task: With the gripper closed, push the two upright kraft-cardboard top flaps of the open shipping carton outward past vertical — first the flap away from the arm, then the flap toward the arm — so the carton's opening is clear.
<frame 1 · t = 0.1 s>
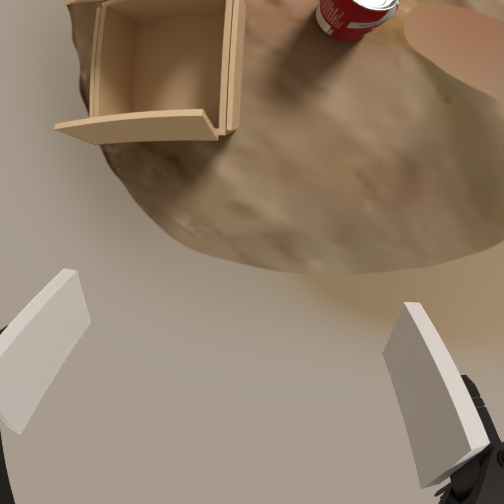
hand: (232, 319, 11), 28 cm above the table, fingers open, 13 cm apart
flap 2: (136, 129, 22), point 13 cm above the table, hinge at 70.0°
soda can: (341, 20, 26), on the table
carton: (182, 68, 30), on the table
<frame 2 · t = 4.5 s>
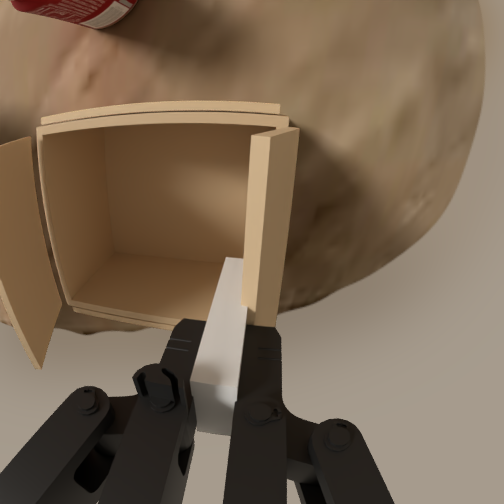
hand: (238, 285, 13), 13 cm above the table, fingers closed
flap 1: (21, 251, 14), point 13 cm above the table, hinge at 70.0°
flap 2: (267, 282, 13), point 13 cm above the table, hinge at 79.3°, touching gripper
soda can: (113, 0, 17), on the table
carton: (183, 191, 25), on the table
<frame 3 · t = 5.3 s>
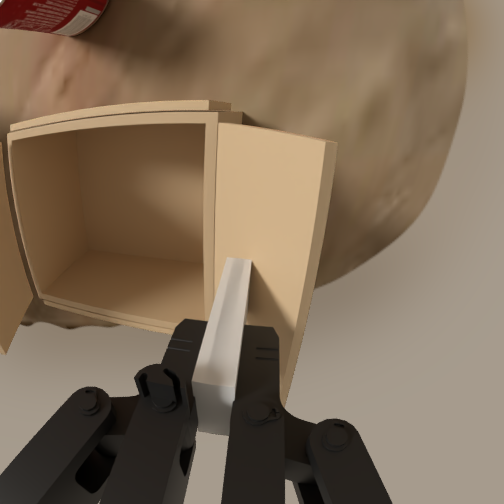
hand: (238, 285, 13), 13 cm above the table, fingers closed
flap 2: (252, 280, 13), point 12 cm above the table, hinge at 126.1°, touching gripper
soda can: (86, 7, 17), on the table
carton: (148, 190, 25), on the table
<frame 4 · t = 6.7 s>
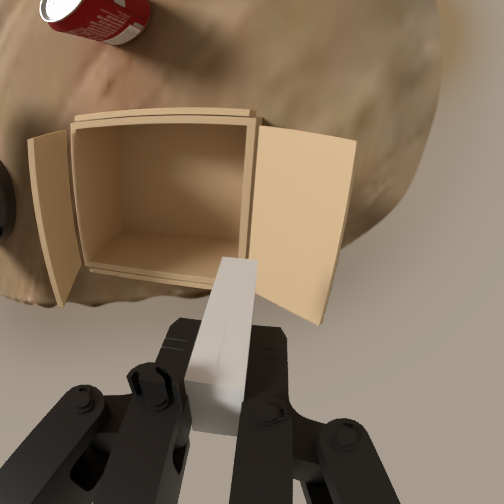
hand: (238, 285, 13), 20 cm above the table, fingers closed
flap 1: (56, 214, 20), point 13 cm above the table, hinge at 70.0°
flap 2: (294, 227, 20), point 12 cm above the table, hinge at 144.8°
soda can: (127, 20, 23), on the table
carton: (183, 178, 31), on the table
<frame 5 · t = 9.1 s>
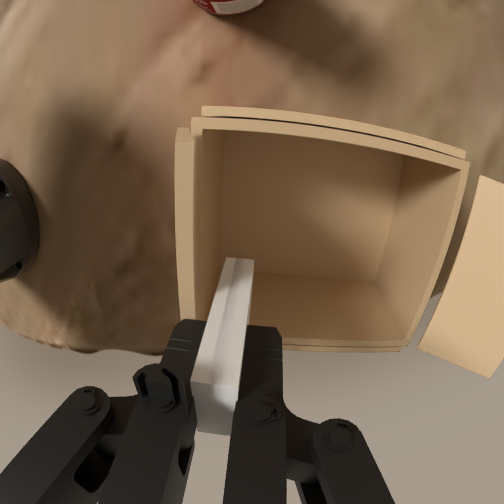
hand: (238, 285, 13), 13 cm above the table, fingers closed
flap 1: (184, 282, 13), point 13 cm above the table, hinge at 73.7°, touching gripper
flap 2: (494, 289, 14), point 12 cm above the table, hinge at 145.0°
carton: (310, 206, 25), on the table
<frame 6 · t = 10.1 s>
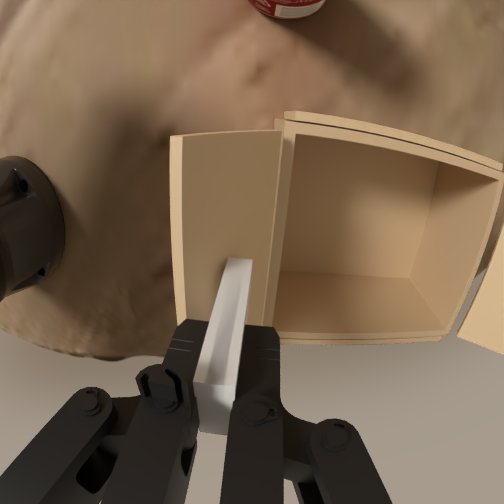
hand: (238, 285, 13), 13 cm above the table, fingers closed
flap 1: (231, 278, 14), point 13 cm above the table, hinge at 118.3°, touching gripper
carton: (356, 209, 25), on the table
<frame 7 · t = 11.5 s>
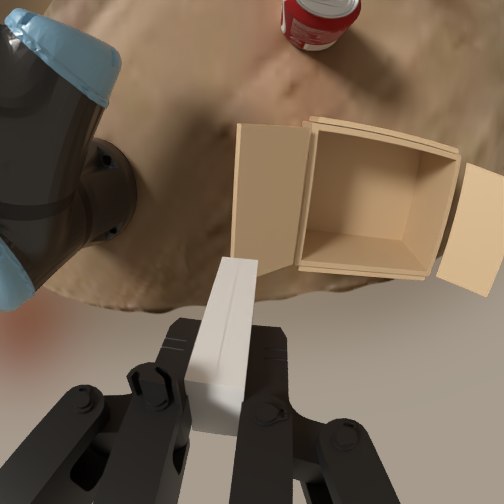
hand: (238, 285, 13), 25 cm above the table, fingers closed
flap 1: (269, 204, 24), point 12 cm above the table, hinge at 138.9°
flap 2: (481, 232, 24), point 12 cm above the table, hinge at 145.0°
soda can: (309, 27, 27), on the table
carton: (359, 185, 35), on the table
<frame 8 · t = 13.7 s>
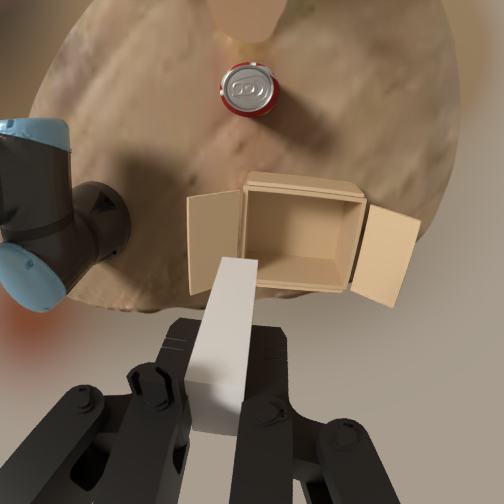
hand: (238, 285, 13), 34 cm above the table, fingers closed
flap 1: (213, 243, 37), point 12 cm above the table, hinge at 139.2°
flap 2: (384, 258, 37), point 12 cm above the table, hinge at 145.0°
soda can: (254, 94, 39), on the table
carton: (295, 218, 48), on the table
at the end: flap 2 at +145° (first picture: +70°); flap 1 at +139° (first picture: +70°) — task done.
